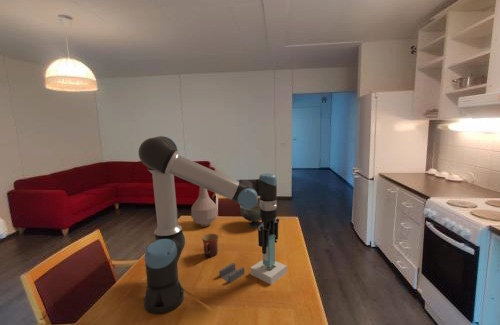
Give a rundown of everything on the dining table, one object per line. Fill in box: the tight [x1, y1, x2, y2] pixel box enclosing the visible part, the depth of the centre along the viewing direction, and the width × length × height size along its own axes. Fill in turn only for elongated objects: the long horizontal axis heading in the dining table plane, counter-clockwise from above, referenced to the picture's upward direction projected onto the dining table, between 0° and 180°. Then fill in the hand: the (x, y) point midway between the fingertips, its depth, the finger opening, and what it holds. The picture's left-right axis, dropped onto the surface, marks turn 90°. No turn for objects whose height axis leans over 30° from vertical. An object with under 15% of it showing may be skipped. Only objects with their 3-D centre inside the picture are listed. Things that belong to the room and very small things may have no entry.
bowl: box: [239, 200, 262, 229], centre depth 176 cm, size 20×19×15 cm
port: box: [249, 259, 288, 285], centre depth 119 cm, size 12×12×5 cm
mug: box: [201, 233, 219, 259], centre depth 136 cm, size 12×9×10 cm
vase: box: [190, 186, 218, 227], centre depth 178 cm, size 18×18×30 cm
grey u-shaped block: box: [218, 262, 245, 284], centre depth 118 cm, size 9×7×4 cm
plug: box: [262, 233, 276, 267], centre depth 117 cm, size 4×4×14 cm
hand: (268, 257), depth 118 cm, fingers closed on plug, 4 cm apart
